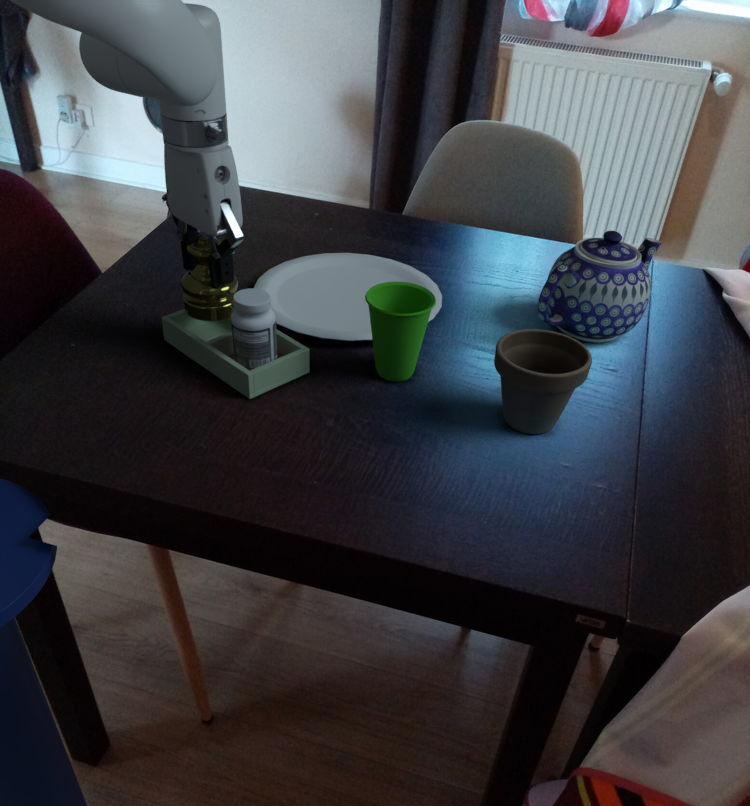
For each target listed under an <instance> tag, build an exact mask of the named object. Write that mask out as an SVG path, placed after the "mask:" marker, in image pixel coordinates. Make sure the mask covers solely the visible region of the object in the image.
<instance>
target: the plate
mask: <svg viewBox="0 0 750 806" xmlns="http://www.w3.org/2000/svg"><path fill="white" fill-rule="evenodd" d="M386 282H408V283H413V284H417V285H420V286H422V287H424V288H426V289H428V290H429V291H431V292H432V293H433V295H434V296H435V299H436V305H435V306H434V307H433V309H432V310H431V313H430V317H429V320H428V324H429V323H430V322H432V321H433V320H435V318H436V317H437V315H438V314H439V312H440V311H441V309H442V304H443V294H442V292H441V290H440V288H439V286H438V284H437V283H436V282H434V281H433V280H432V278H430V277H429V276H428V275H427V274H425V273H424V272H422V271H420V270H418V269H417V268H414V267H413V266H411V265H409V264H406V263H403V262H400V261H397V260H394V259H391V258H387V257H382V256H379V255H374V254H373V255H372V254H365V253H355V252H325V253H317V254H309V255H304V256H300V257H296V258H292V259H288V260H285V261H284V262H281V263H279V264H277V265H275V266H274V267H271V268H269V269H268V270H267V271H265V272H264V273H263V274H262V275H261V276H259V277H258V278H257V280H256V282H255V284H254V286H253V288H255V289H261V290H264V291H266V292H268V293H269V294H270V297H271V307H270V309H271V310H272V311H273V312H274V314H275V317H276V326H280V327H282V328H283V329H287V330H289V331H291V332H294V333H296V334H299V335H302V336H307V337H311V338H316V339H320V340H327V341H338V342H348V343H351V342H373V340H372V331H371V323H370V314H369V306H368V303H367V302H366V300H365V295H366V293H367V291H368V290H369V289H370V288H371V287H373V286H375V285H378V284H381V283H386Z"/></svg>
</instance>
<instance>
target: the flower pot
mask: <svg viewBox="0 0 750 806" xmlns="http://www.w3.org/2000/svg"><path fill="white" fill-rule="evenodd" d="M592 364H593V356H592V353H591V352H590V350H589V349H588V348H587V346H586V345H585V344H583V343H582V342H580V340H578V339H576V338H573V337H571V336H569V335H567V334H565V333H560V332H557V331H553V330H548V329H540V328H539V329H538V328H528V329H527V328H526V329H519V330H514V331H512V332H511V331H510V332H508V333H506V334H504V335H503V336H501V337H500V338H499V339H498V340H497V342H496V345H495V352H494V359H493V365H494V368H495V370H496V372H497V373H498V375H499V377H500V392H501V405H502V412H503V419H504V421H505V422H506V424H507V425H508V426H509V427H510V428H512V429H514V430H515V431H517V432H521V433H524V434H531V435H540V434H544V433H547V432H549V431H551V430H552V429H554V427H555V426H556V424H557V422H558V421H559V419H560V418H561V416H562V414H563V412H564V411H565V409H566V407H567V406H568V404H569V401H570V399H571V397H572V396H573V394H574V392H575V390H576V389H577V388H579V387H581V386H582V385H583V384H584V383H585V382H586V381H587V379H588V376H589V373H590V369H591V366H592Z"/></svg>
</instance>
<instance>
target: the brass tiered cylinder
mask: <svg viewBox="0 0 750 806" xmlns="http://www.w3.org/2000/svg"><path fill="white" fill-rule="evenodd" d="M222 241H223V240H220V239H218V238H217V242H218V246H219V244H220V243H221V242H222ZM187 251H188V253H189V254H190V255H192V256H194V257H195V258H196V259H197V264H196V265H195V267H193V268H192V269H191V270H189V271H187V272H186V273H185V274H184V275H183V276H182V278H181V281H180V285H181V289H182V291H183V294H182V299H183V307H184V309H185V312H186V313H187V314H188V315H189V316H190V317H192V318H194V319H197V320H201V321H221V320H225V319H228V318H230V317H231V315H232V313H233V312H234V310H235V308H234V306H233V296H234V294H235V293H236V292H238V290H237V289H238V286H239V279H238V277H237V275H236V274H235V273H234V281H233V282H231V283H228V284H225V285H222V286H219V287H214V286H212V283H211V273H210V262H209V257H211V256H212V252H211V249H210V245H209V241H208V238H207V235H202V236H201V237H200V238H197V239H195V240H193V241H191V242H190V243H189V244H188V245H187Z"/></svg>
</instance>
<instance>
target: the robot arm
mask: <svg viewBox="0 0 750 806" xmlns="http://www.w3.org/2000/svg"><path fill="white" fill-rule="evenodd" d="M9 1H10V2H12V3H13V4H15V5H17V6H19V7H21V8H22V9H24V10H26V11H29V12H30V13H32V14H34V15H36V16H38V17H41V18H42V19H45V20H46V21H49V22H52V23H54V24H57V25H60V26H63V27H65V28H68V29H71V30H74V31H77V32H79V33H80V37H79V43H78V48H79V49H78V50H79V56H80V59H81V62H82V65H83V67H84V68H85V70H86V73H87V74H88V75H89V76H90V77H91V78H92V80H94V81H95V82H97V83H98V84H99V85H101V86H103V87H104V88H106V89H109V90H111V91H114V92H118V93H121V94H125V95H129V96H134V97H139V98H146V99H151V100H155V101H158V106H159V108H158V109H159V116H160V122H161V131H162V139H163V140H162V141H163V144H164V145H163V159H164V160H163V162H164V163H163V164H164V165H163V166H164V180H165V190H166V191H165V192H166V199H165V206H166V207H167V209H168V211H169V212H170V214H171V215H172V220H173V222H174V224H175V226H176V229H177V230H176V234H177V238H178V239H179V240H180V249H181V257H182V266H183V269H184V270H185V271H187V272H189V271H191V269H192V268H193V267H195V265H196V264H197V259H196V258H195V257H194V256H192V255H190V254H189V253H188V251H187V245H188V244H189V243H190V242H191V241H193V240H195V239H197V238H200V237H201V236H203V234H200V233H201V232H202V233H204V234H206V236H207V238H208V241H209V245H210V249H211V252H212V256H211V257H209V262H210V273H211V283H212V286H214V287H219V286H222V285H225V284H228V283H231V282H233V281H234V274H235V273H234V271H235V270H234V259H233V254H235V253H236V249H237V248H238V246H239V245H240V244H242V242H243V241H244V240H245V235H244V233H243V231H242V229H241V228H242V227H243V224H244V223H243V221H244V220H243V208H242V207H243V206H242V199H241V198H242V197H241V189H240V182H239V176H238V171H237V165H236V161H235V157H234V153H233V149H232V147H231V145H229V129H228V128H229V127H228V114H227V102H226V101H227V99H226V85H225V69H224V56H223V41H222V29H221V28H222V27H221V22H220V18H219V15H218V14H217V13H216V11H215V10H213V9H212V8H210V7H208V6H206V5H204V4H203V5H202V4H197V3H186V2H183V0H9ZM219 226H221V227H220V228H219V229H218V227H219ZM220 236H222V239H223V240H221V241H222V242H221V243H220V244H219V246H218V242H217V239H218V238H217V237H220Z"/></svg>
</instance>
